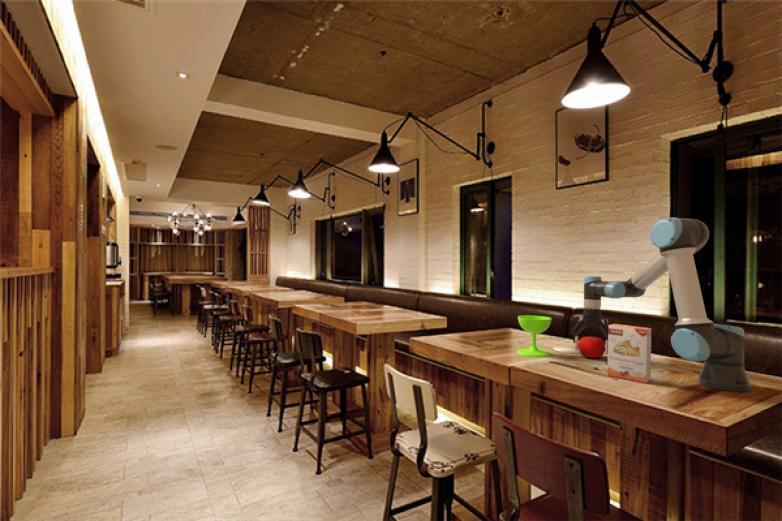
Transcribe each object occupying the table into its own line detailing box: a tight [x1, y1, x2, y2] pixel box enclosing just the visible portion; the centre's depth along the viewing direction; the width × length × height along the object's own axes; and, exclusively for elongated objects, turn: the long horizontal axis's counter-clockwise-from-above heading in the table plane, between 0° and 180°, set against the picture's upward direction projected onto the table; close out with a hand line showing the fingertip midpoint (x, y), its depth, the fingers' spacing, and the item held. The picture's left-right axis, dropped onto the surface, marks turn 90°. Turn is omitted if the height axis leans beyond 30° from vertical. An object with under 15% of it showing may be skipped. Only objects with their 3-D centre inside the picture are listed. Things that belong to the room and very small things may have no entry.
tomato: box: [578, 335, 606, 359], centre depth 199 cm, size 11×12×10 cm
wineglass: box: [517, 315, 552, 358], centre depth 206 cm, size 16×16×18 cm
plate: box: [552, 345, 582, 355], centre depth 214 cm, size 16×16×1 cm
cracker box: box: [607, 323, 652, 385], centre depth 163 cm, size 14×6×21 cm, turn 43°
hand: (591, 351), depth 199 cm, fingers open, 13 cm apart
